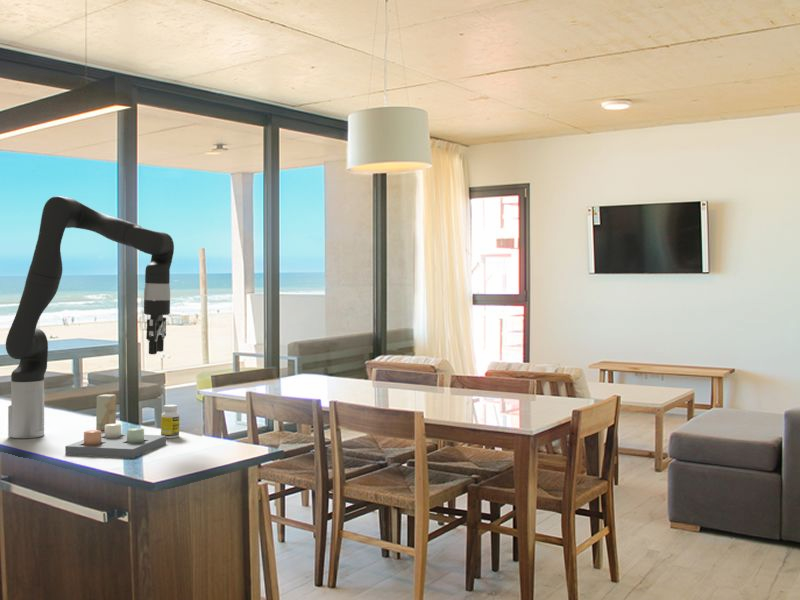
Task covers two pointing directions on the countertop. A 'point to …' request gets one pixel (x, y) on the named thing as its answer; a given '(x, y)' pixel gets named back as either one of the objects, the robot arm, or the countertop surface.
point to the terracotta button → (92, 438)
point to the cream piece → (113, 431)
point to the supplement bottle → (170, 422)
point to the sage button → (135, 435)
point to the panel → (116, 447)
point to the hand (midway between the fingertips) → (156, 352)
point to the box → (105, 411)
